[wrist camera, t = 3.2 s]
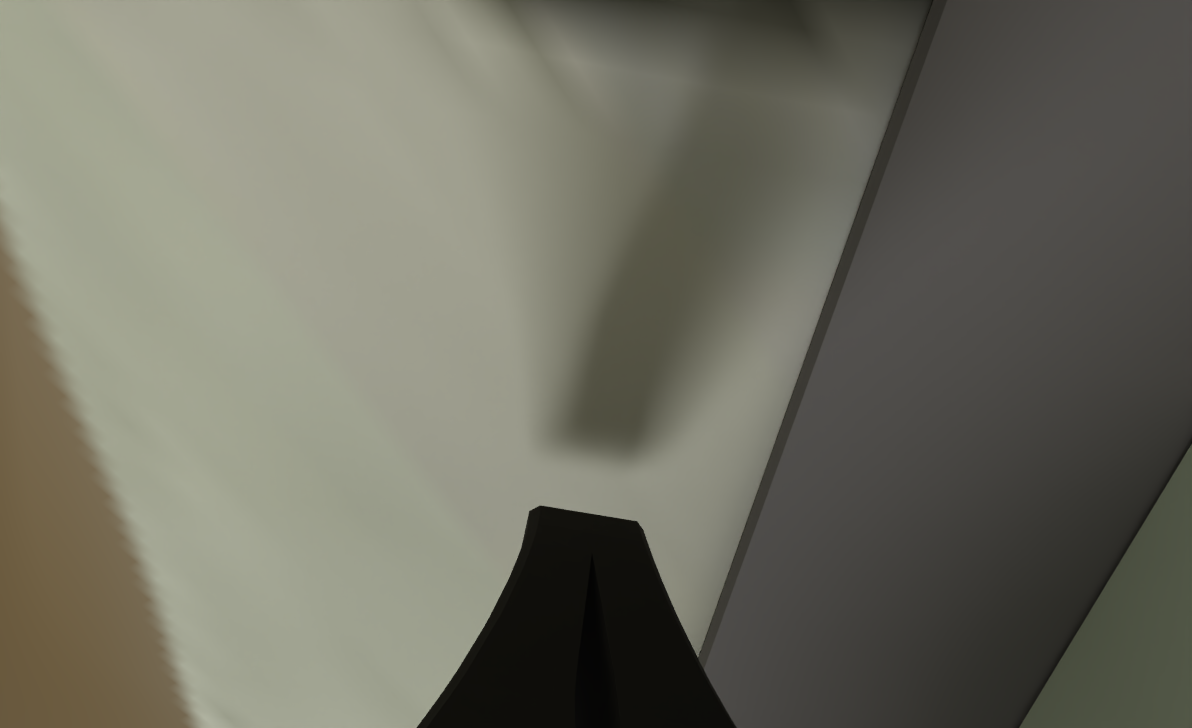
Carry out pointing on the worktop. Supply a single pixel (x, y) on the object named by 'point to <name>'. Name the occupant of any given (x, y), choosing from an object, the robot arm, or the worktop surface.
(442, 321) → the worktop surface
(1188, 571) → the socket block
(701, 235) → the worktop surface
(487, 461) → the worktop surface
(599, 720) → the robot arm
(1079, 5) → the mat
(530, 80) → the worktop surface
